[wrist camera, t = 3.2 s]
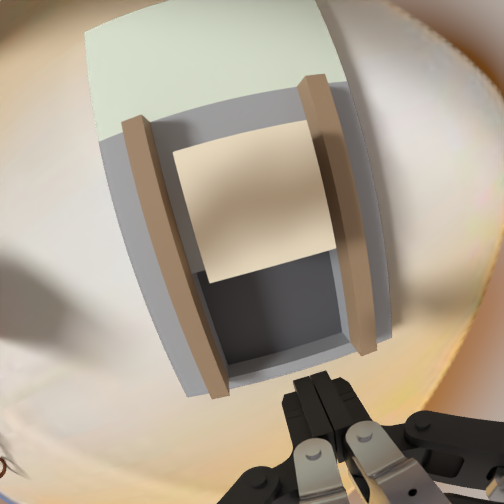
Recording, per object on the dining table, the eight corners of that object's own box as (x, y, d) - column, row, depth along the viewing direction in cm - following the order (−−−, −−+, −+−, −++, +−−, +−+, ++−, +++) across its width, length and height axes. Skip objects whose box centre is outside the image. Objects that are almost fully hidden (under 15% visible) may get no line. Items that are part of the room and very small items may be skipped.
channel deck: (94, 42, 15) (73, 20, 11) (299, -6, 16) (312, -34, 12) (189, 381, 21) (184, 414, 18) (380, 326, 22) (404, 349, 18)
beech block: (186, 161, 16) (172, 152, 12) (286, 136, 16) (306, 119, 12) (213, 259, 18) (209, 283, 13) (309, 233, 18) (336, 248, 13)
